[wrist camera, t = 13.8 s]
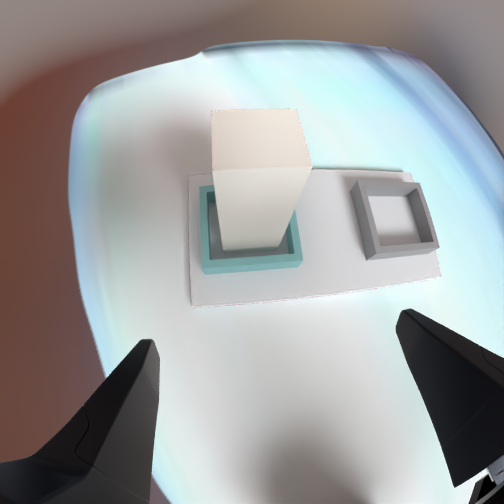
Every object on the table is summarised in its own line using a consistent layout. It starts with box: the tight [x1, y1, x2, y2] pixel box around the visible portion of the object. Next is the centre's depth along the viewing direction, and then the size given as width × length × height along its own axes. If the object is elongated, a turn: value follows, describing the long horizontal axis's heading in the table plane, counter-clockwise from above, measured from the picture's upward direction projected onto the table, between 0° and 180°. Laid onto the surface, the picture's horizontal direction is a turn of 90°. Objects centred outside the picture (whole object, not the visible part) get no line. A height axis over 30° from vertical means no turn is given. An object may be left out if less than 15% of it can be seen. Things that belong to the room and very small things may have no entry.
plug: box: [211, 109, 312, 255], centre depth 18 cm, size 5×4×12 cm
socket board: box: [189, 169, 441, 308], centre depth 24 cm, size 24×12×3 cm, turn 96°
